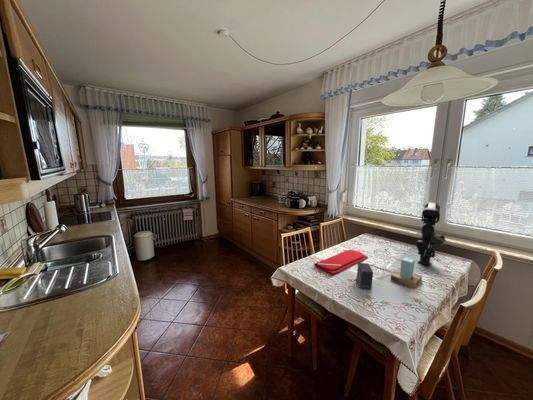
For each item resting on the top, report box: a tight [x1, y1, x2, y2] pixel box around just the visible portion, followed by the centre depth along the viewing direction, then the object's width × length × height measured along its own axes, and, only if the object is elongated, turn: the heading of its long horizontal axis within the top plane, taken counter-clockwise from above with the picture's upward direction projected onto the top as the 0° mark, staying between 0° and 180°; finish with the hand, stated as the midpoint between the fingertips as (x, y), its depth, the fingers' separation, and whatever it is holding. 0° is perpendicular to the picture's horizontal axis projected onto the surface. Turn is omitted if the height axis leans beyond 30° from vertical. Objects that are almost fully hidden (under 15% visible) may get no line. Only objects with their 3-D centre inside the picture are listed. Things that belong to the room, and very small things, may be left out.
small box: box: [356, 262, 374, 290], centre depth 125 cm, size 11×6×10 cm, turn 168°
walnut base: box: [390, 268, 423, 290], centre depth 129 cm, size 12×12×3 cm
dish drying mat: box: [313, 249, 369, 277], centre depth 152 cm, size 16×41×4 cm, turn 127°
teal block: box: [400, 257, 416, 279], centre depth 128 cm, size 5×5×10 cm
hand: (424, 254), depth 133 cm, fingers open, 9 cm apart
